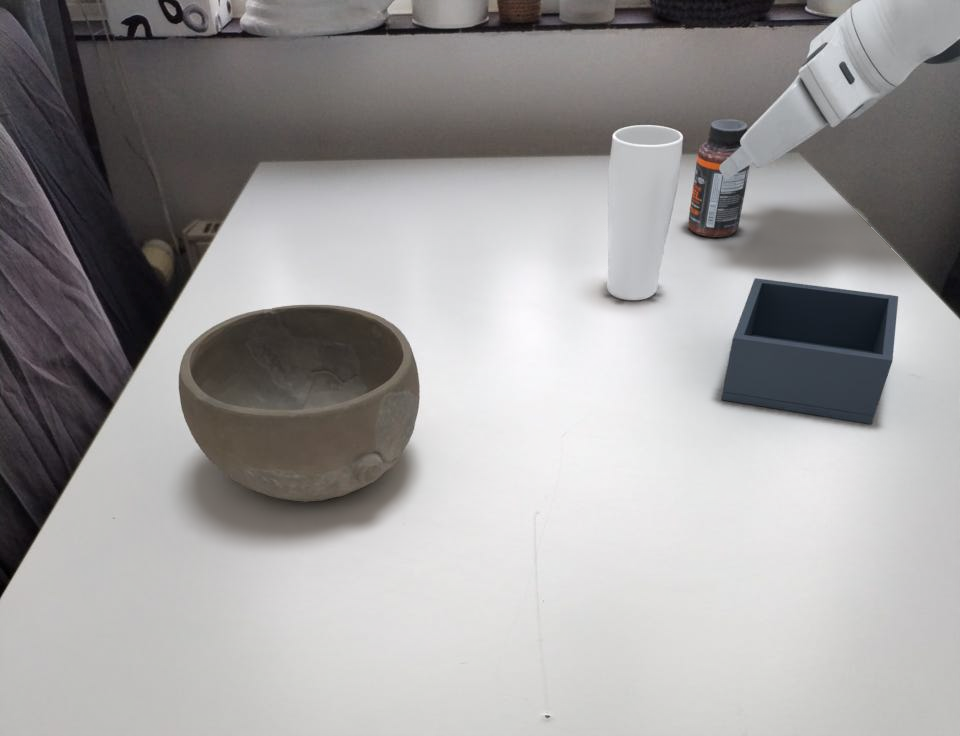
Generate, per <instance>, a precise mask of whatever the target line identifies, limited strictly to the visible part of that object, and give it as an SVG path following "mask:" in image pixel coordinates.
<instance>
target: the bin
mask: <svg viewBox="0 0 960 736" xmlns="http://www.w3.org/2000/svg"><path fill="white" fill-rule="evenodd" d="M898 305H899V296H898V295H894V294H885V293H877V292H868V291H860V290H853V289H846V288H836V287H828V286H821V285H812V284H806V283H798V282H797V283H796V282H789V281H782V280H781V281H780V280H773V279H764V278H758V277H757V278H756V277H755V278H754V279H753V282H752V284H751V287H750V290H749V292H748V296H747V298H746V301H745V303H744V306H743V309H742V312H741V315H740V317H739V321H738V323H737V326H736V328H735V330H734V331H735V332H734V334H733V337H732V341H731V347H730V351H729V357H728V361H727V366H726V372H725V377H724V382H723V387H722V393H721V397H720V399H721V400H722V401H725V402H726V401H728V402H732V403H733V402H734V403H738V404H739V403H740V404H745V405H750V406H751V405H752V406H759V407H764V408H770V409H777V410H783V411H787V412H788V411H789V412H794V413H795V412H796V413H800V414H801V413H802V414H807V415H812V416H813V415H814V416H820V417H825V418H831V419H837V420H844V421H851V422H856V423H863V424H870V425H872V423H873V422H874V421H873V420H874V418H875V415H876V413H877V409H878V406H879V403H880V400H881V397H882V394H883V391H884V387H885V385H886V382H887V379H888V376H889V373H890V370H891V366H892V364H893V361H894V351H895V350H894V349H895V339H896V325H897V316H898Z"/></svg>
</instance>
